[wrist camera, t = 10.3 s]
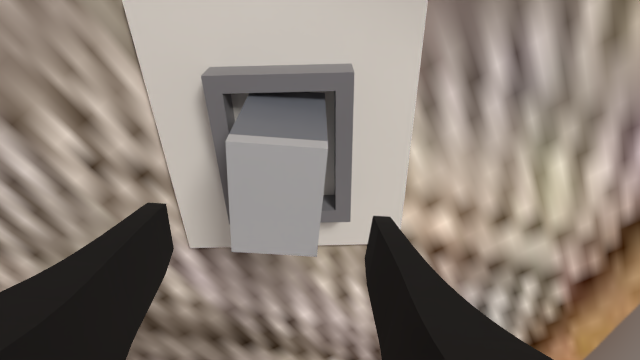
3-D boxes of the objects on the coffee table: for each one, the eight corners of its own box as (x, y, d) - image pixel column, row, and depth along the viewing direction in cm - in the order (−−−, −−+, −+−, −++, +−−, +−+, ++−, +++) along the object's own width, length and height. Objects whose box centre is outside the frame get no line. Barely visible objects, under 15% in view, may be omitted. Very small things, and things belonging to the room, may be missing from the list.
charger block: (253, 176, 20) (231, 251, 15) (251, 87, 18) (225, 141, 12) (316, 180, 20) (316, 256, 15) (324, 93, 18) (328, 148, 13)
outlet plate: (191, 243, 23) (182, 265, 22) (125, -3, 16) (103, 1, 14) (397, 239, 23) (403, 260, 21) (426, -11, 16) (439, -7, 14)
